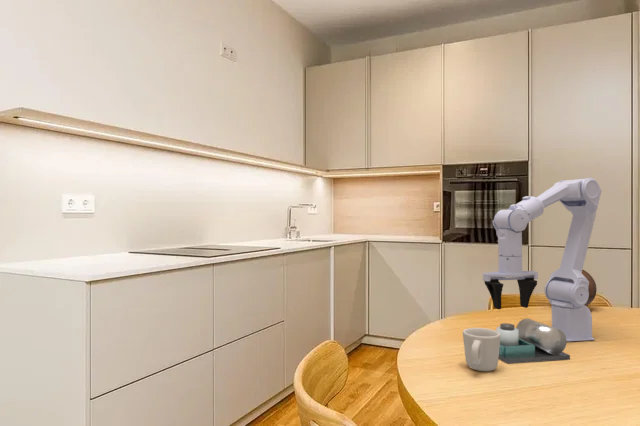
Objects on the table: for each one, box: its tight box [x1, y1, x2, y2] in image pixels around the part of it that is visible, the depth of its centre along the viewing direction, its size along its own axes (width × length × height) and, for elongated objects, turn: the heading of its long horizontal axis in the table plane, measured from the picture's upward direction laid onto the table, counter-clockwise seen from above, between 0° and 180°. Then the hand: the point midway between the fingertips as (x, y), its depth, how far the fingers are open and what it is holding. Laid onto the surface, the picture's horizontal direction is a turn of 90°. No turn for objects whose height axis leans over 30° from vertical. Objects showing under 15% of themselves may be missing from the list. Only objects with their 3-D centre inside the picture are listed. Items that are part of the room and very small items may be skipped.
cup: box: [462, 327, 501, 372], centre depth 99 cm, size 11×8×8 cm
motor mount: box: [498, 318, 571, 365], centre depth 110 cm, size 16×13×7 cm
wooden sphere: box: [568, 268, 597, 307], centre depth 161 cm, size 15×15×15 cm
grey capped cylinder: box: [495, 322, 519, 346], centre depth 110 cm, size 5×5×6 cm
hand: (510, 307), depth 117 cm, fingers open, 7 cm apart
